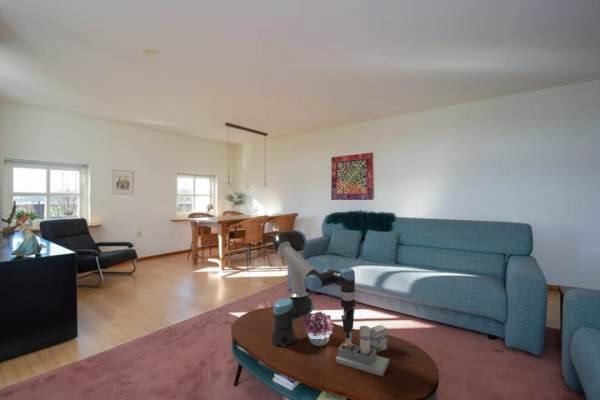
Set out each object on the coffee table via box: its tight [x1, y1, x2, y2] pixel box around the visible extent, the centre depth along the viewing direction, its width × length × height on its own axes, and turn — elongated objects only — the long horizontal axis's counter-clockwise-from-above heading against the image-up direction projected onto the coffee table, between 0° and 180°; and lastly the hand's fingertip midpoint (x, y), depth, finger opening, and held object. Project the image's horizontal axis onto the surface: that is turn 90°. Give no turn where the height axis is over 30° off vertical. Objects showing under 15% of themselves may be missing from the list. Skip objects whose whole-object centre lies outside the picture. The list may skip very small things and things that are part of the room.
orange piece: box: [343, 341, 354, 351], centre depth 150 cm, size 5×5×5 cm
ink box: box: [370, 324, 388, 353], centre depth 160 cm, size 9×5×12 cm, turn 123°
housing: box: [335, 341, 390, 377], centre depth 146 cm, size 24×13×6 cm, turn 59°
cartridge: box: [359, 325, 371, 356], centre depth 146 cm, size 5×5×16 cm
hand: (348, 343), depth 150 cm, fingers closed
